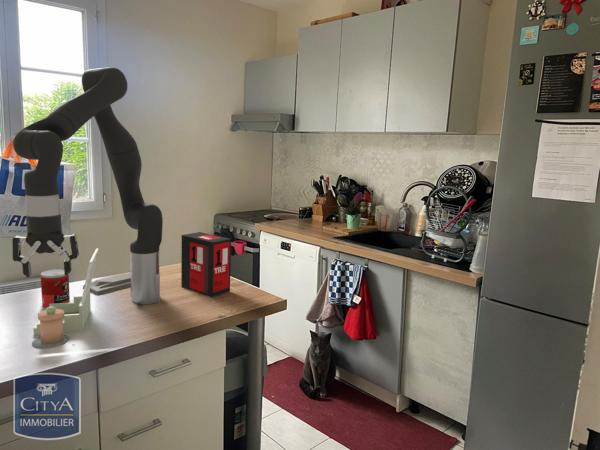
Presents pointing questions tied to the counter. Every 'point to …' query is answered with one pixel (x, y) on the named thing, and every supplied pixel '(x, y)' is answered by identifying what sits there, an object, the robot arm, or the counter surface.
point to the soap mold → (110, 284)
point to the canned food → (54, 287)
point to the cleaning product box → (206, 263)
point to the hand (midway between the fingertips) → (48, 275)
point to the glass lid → (89, 275)
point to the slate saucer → (38, 344)
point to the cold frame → (71, 315)
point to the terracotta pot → (51, 325)
